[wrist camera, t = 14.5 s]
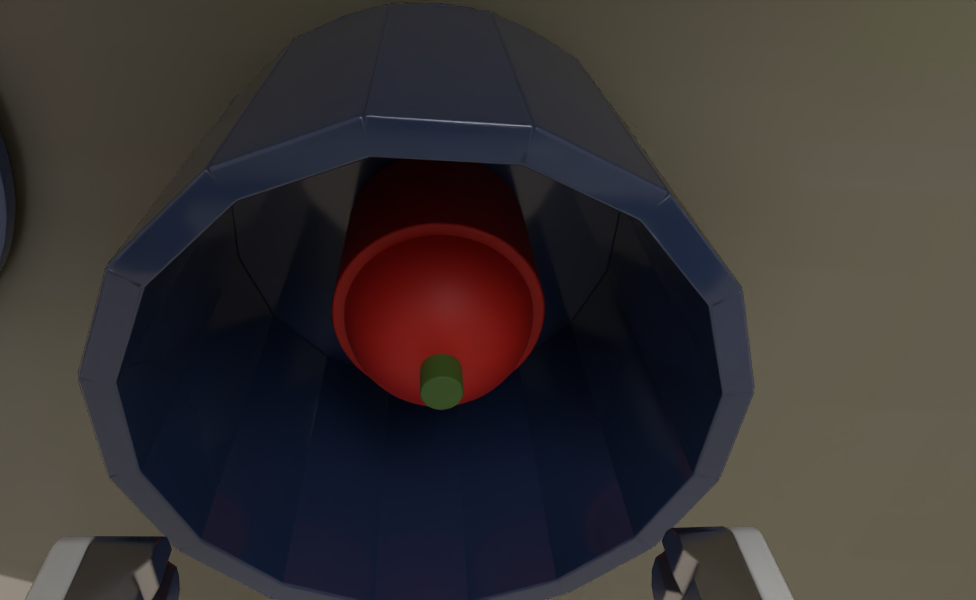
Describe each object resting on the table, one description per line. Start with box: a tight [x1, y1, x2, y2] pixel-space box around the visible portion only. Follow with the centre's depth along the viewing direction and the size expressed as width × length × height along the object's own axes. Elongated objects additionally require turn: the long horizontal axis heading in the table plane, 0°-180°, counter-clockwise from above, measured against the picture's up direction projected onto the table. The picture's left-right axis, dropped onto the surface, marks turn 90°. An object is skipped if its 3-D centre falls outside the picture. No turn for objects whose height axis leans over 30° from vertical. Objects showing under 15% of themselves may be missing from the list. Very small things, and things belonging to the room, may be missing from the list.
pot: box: [78, 3, 754, 600], centre depth 18 cm, size 13×13×10 cm
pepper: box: [332, 159, 545, 410], centre depth 19 cm, size 6×6×8 cm
